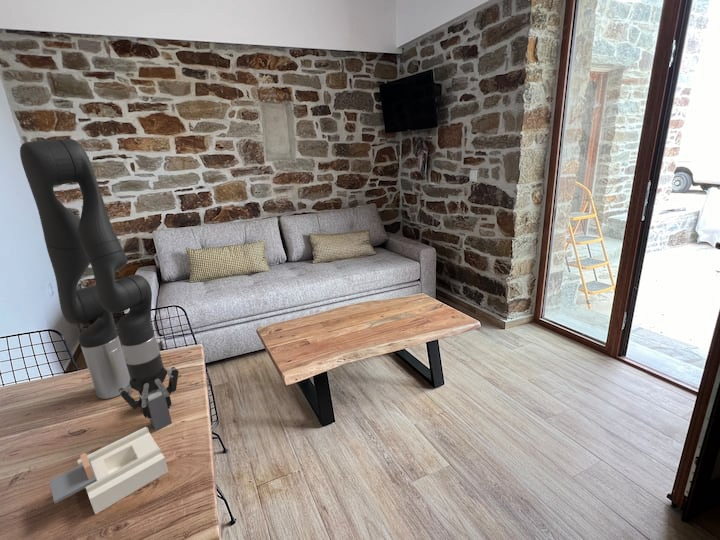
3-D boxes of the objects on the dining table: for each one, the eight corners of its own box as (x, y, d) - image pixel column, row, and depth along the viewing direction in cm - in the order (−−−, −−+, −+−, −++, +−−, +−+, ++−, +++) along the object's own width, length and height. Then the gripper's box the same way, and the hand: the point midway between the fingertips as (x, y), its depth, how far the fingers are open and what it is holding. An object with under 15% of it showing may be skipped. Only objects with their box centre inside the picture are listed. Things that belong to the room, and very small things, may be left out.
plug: (151, 423, 98) (141, 391, 95) (166, 416, 101) (158, 384, 98) (155, 431, 96) (146, 398, 92) (171, 423, 98) (163, 390, 95)
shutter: (50, 482, 77) (44, 469, 76) (90, 462, 81) (85, 449, 80) (54, 503, 72) (48, 489, 71) (97, 481, 77) (92, 467, 75)
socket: (82, 473, 84) (75, 456, 82) (149, 439, 93) (144, 423, 91) (95, 514, 74) (88, 495, 73) (168, 471, 83) (163, 454, 82)
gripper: (167, 339, 99) (180, 393, 104) (105, 361, 90) (123, 419, 95) (177, 348, 94) (191, 405, 99) (113, 373, 84) (131, 434, 90)
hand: (158, 411), depth 97 cm, fingers closed on plug, 4 cm apart
